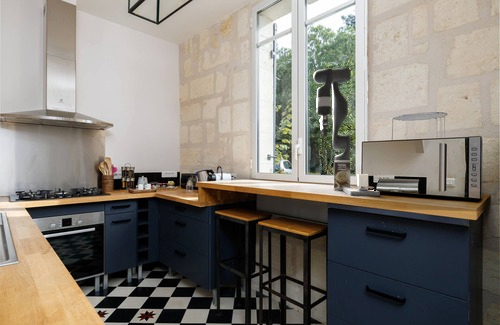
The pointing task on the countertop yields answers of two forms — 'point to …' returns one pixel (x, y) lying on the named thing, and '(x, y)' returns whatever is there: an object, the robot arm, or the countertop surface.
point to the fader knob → (362, 181)
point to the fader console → (361, 192)
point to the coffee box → (341, 175)
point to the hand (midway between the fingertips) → (324, 136)
